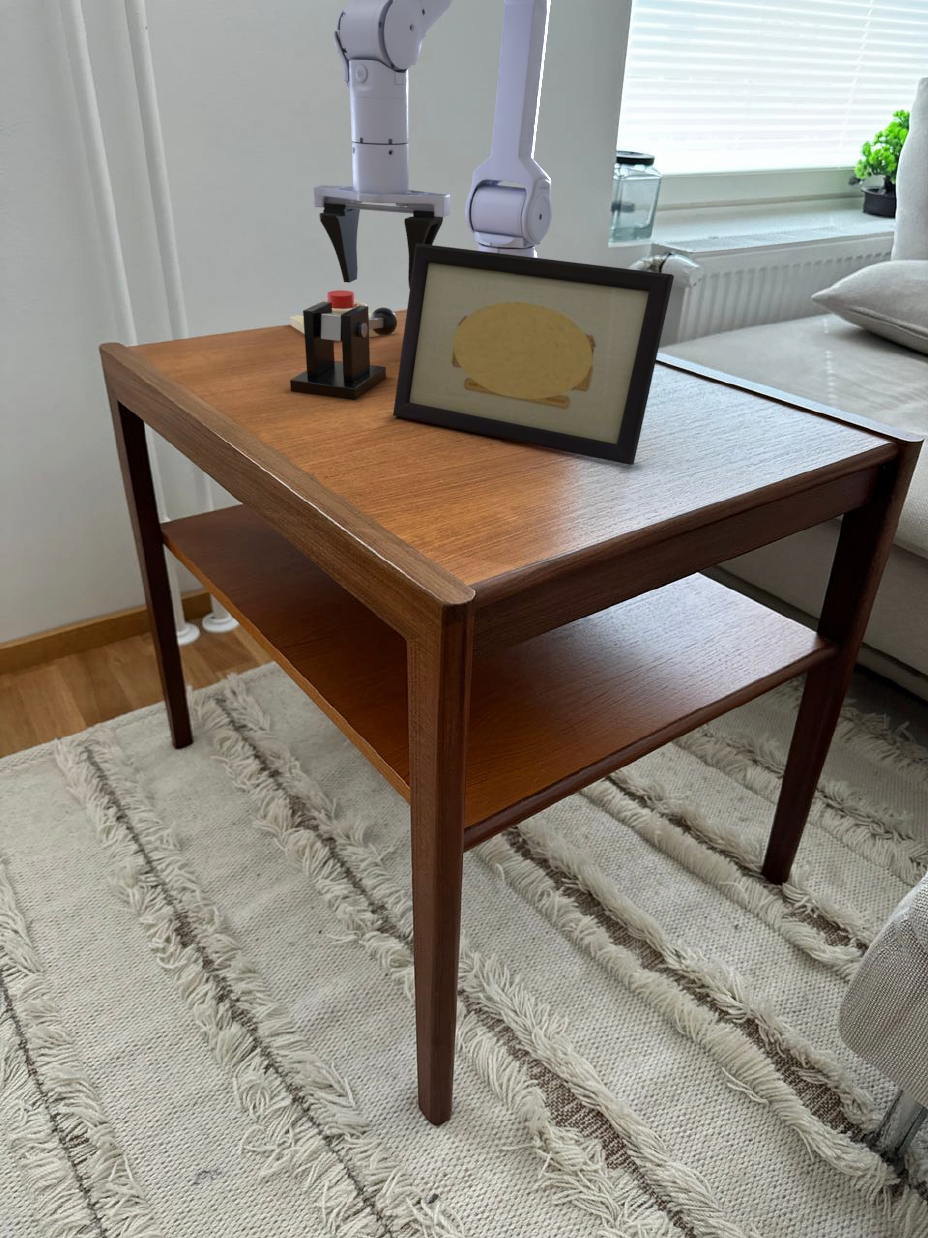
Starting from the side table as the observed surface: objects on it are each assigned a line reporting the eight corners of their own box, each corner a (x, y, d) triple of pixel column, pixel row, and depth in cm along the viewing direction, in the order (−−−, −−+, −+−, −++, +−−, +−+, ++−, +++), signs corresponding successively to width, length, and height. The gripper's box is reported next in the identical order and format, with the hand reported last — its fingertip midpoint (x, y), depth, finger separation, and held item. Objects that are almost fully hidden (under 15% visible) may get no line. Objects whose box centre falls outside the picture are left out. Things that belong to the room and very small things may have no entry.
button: (348, 303, 110) (347, 289, 109) (358, 309, 108) (358, 294, 107) (324, 306, 109) (323, 291, 108) (334, 312, 107) (333, 296, 106)
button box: (364, 317, 115) (363, 293, 114) (395, 334, 109) (394, 308, 107) (290, 325, 111) (288, 300, 109) (318, 343, 104) (316, 317, 103)
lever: (375, 333, 101) (377, 305, 100) (400, 336, 101) (401, 308, 99) (316, 341, 88) (317, 309, 87) (344, 345, 87) (345, 312, 86)
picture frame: (391, 417, 83) (399, 243, 76) (438, 402, 90) (449, 242, 84) (628, 467, 74) (660, 275, 68) (659, 446, 81) (690, 270, 75)
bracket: (325, 370, 96) (321, 296, 92) (386, 378, 94) (384, 303, 90) (290, 391, 89) (284, 313, 85) (354, 400, 87) (351, 320, 83)
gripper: (296, 140, 88) (305, 284, 95) (434, 148, 85) (432, 297, 92) (327, 136, 94) (333, 272, 101) (458, 144, 90) (454, 284, 98)
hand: (382, 283), depth 97 cm, fingers open, 7 cm apart
